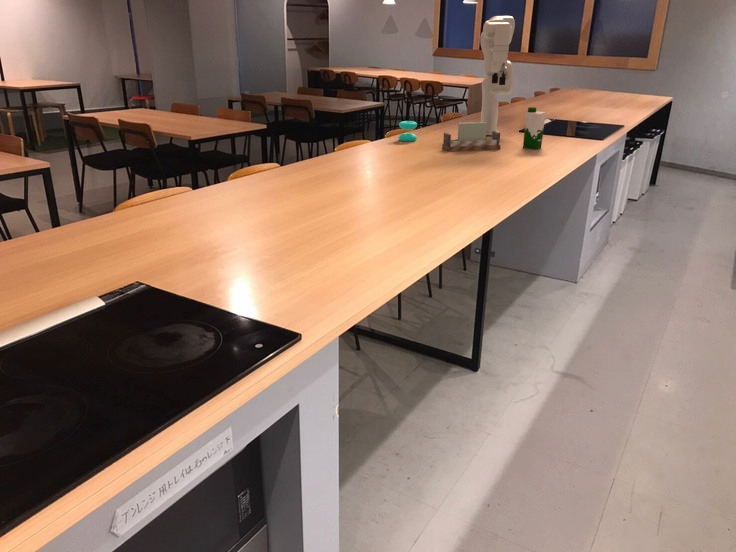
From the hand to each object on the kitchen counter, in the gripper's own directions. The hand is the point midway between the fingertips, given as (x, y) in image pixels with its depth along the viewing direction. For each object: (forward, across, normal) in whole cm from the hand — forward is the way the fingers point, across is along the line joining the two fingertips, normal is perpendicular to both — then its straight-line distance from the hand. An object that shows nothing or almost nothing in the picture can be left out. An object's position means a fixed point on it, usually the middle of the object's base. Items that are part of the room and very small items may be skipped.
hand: (498, 84), depth 304 cm
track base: (+30, +14, -18) cm, 38 cm away
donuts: (+31, -16, -44) cm, 56 cm away
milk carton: (+31, +18, +14) cm, 38 cm away
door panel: (+28, +14, -18) cm, 36 cm away
